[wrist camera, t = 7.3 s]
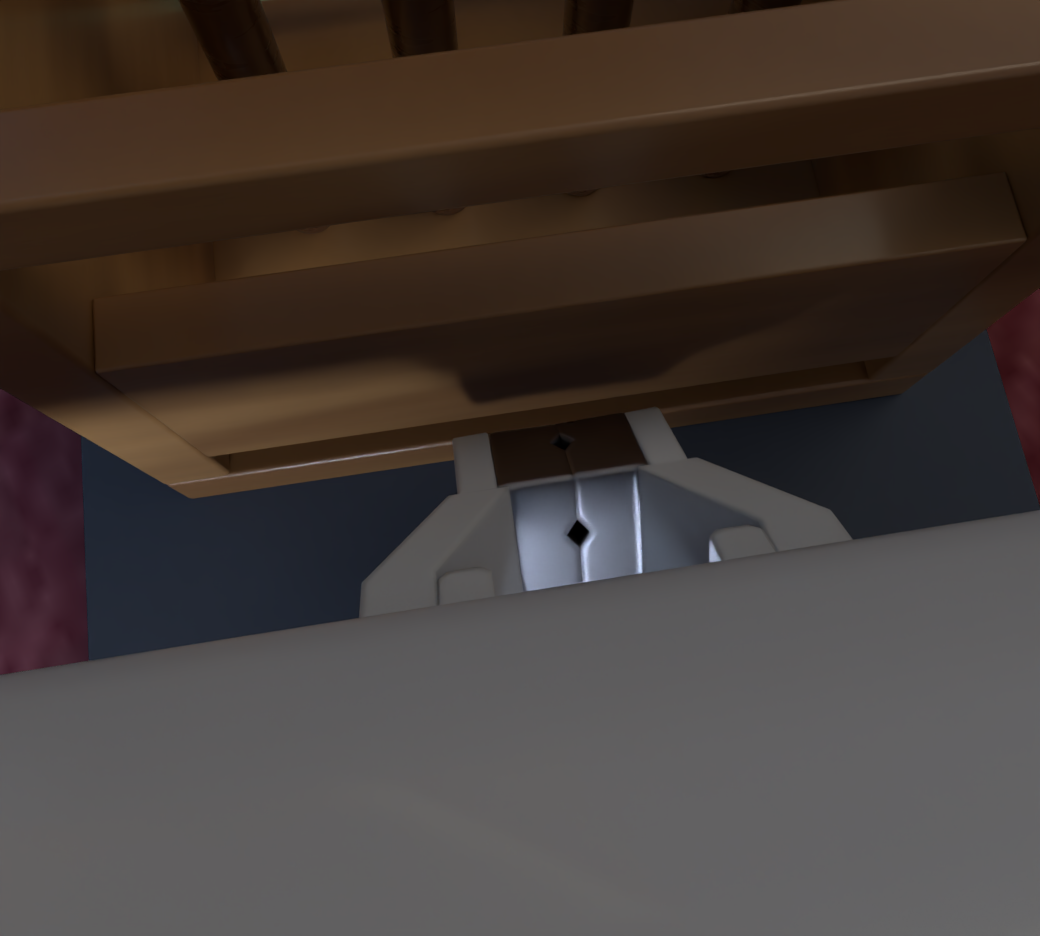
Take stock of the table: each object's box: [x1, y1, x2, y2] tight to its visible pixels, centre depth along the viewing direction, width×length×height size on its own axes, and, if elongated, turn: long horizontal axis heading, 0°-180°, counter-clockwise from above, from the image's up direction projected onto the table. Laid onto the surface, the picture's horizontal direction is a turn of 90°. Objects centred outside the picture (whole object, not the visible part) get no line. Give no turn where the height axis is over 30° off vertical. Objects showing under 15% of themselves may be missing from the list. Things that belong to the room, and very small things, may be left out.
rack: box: [0, 0, 1040, 499], centre depth 14 cm, size 10×14×10 cm
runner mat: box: [81, 0, 1040, 661], centre depth 20 cm, size 24×18×1 cm
